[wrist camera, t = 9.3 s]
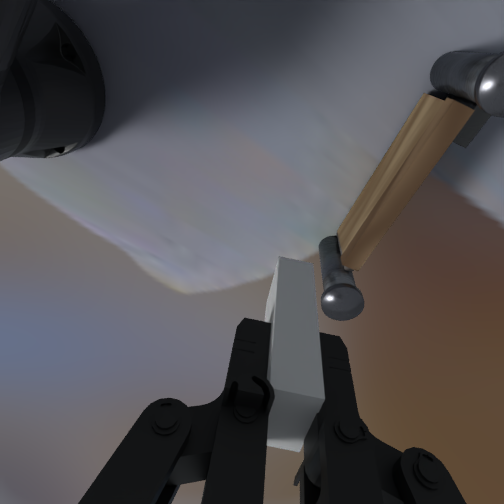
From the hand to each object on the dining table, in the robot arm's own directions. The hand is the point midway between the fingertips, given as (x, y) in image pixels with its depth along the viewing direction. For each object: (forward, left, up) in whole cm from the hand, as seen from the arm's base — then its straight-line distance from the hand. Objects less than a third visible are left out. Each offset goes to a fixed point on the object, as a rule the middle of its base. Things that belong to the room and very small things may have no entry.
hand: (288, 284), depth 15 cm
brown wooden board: (+10, +1, -24) cm, 26 cm away
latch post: (+10, +10, -24) cm, 28 cm away
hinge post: (+10, -9, -24) cm, 28 cm away
